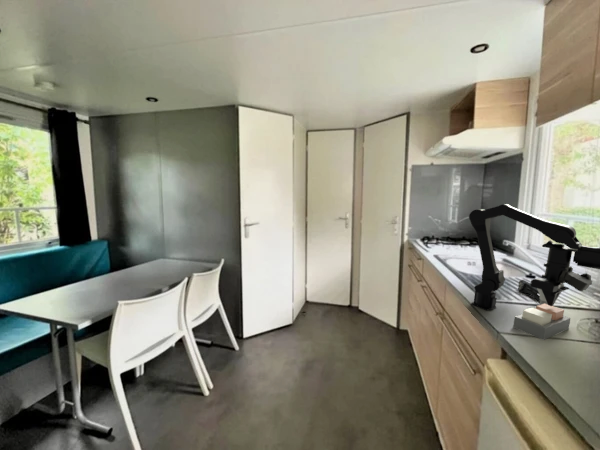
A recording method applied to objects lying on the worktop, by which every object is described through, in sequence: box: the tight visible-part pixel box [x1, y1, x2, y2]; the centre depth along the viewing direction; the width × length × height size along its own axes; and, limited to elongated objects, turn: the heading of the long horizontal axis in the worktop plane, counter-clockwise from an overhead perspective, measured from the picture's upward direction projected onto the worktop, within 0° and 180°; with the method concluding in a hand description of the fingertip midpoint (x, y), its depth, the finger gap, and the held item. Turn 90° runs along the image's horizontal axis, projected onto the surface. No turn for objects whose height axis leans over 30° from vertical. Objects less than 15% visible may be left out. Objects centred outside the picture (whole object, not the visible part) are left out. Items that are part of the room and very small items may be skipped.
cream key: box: [522, 307, 552, 326], centre depth 94 cm, size 6×6×4 cm
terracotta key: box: [535, 303, 565, 321], centre depth 98 cm, size 6×6×4 cm
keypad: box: [512, 313, 571, 341], centre depth 96 cm, size 9×17×4 cm, turn 117°
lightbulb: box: [537, 288, 547, 305], centre depth 114 cm, size 6×6×11 cm
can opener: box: [517, 279, 540, 302], centre depth 124 cm, size 18×7×6 cm, turn 171°
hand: (550, 305), depth 97 cm, fingers closed
